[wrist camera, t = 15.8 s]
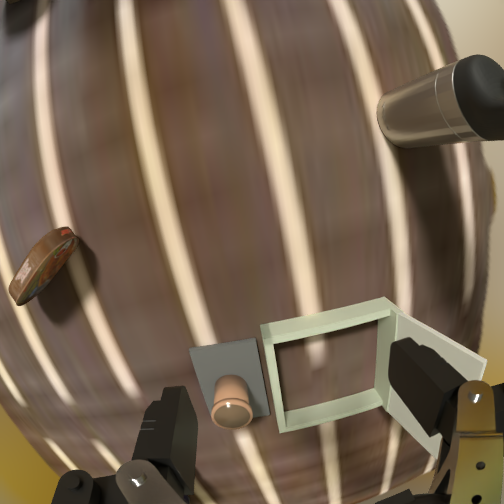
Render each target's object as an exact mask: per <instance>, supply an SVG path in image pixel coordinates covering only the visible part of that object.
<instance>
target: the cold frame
mask: <svg viewBox="0 0 504 504" xmlns="http://www.w3.org/2000/svg"><path fill="white" fill-rule="evenodd" d="M376 319H378V335H377V356H376V371H375V383H374V388H373V389H369V390H366V391H363V392H360V393H357V394H354V395H350V396H347V397H343V398H340V399H336V400H333V401H329V402H325V403H321V404H317V405H313V406H309V407H305V408H300V409H296V410H291V411H287V412H284V411H283V404H282V398H281V391H280V384H279V378H278V371H277V365H276V359H275V352H274V346H273V344H276V343H281V342H286V341H291V340H295V339H300V338H305V337H309V336H313V335H318V334H322V333H326V332H331V331H335V330H339V329H343V328H347V327H350V326H354V325H358V324H362V323H365V322H369V321H373V320H376ZM260 328H261V333H262V339H263V345H264V351H265V356H266V362H267V368H268V373H269V379H270V385H271V391H272V396H273V402H274V408H275V413H276V419H277V423H278V428H279V432H280V433H283V432H288V431H293V430H298V429H302V428H306V427H311V426H315V425H319V424H323V423H326V422H330V421H334V420H337V419H341V418H344V417H348V416H351V415H354V414H357V413H361V412H364V411H367V410H370V409H373V408H375V407H378V406H381V405H382V406H383V407H384V409H385V411H386V412H388V413H389V414H390V415H391V416H392V417H393V418H394V419H395V420H396V421H397V422H399V423H400V424H401V425H402V426H403V427H404V428H405V429H406V430H407V431H408V432H409V433H410V434H411V435H412V436H413V437H414V438H415V439H416V440H417V441H418V442H419V443H420V444H421V445H422V446H423V447H424V448H425V449H426V450H427V451H428V452H429V453H430V454H431V455H432V456H433V457H434V458H435V459H436V460H437V459H438V453H439V447H440V441H441V438H442V435H441V434H440V433H438V434H436V435H434V436H432V437H430V438H429V436H428V435H427V434H426V432H425V431H424V429H423V428H422V427H421V425H420V424H419V423H418V421H417V420H416V419H415V417H414V416H413V414H412V413H411V412H410V410H409V409H408V408H407V406H406V405H405V404H404V402H403V401H402V400H401V398H400V397H399V396H398V394H397V393H396V392H395V390H394V389H393V388H392V386H391V385H390V382H389V379H388V367H389V356H390V346H391V343H392V342H395V341H398V340H400V339H403V338H406V337H411V338H412V339H413V340H414V341H415V342H416V343H417V344H418V345H419V346H420V345H425V346H427V347H430V348H432V349H434V350H435V351H436V352H437V353H438V354H439V355H440V356H441V357H443V358H444V359H445V360H446V362H447V363H449V364H450V365H451V366H452V367H454V368H455V369H456V370H457V371H458V372H459V373H460V374H461V375H462V376H463V377H464V378H465V379H466V380H468V381H471V380H480V381H481V380H482V377H483V374H484V370H485V367H486V364H487V360H486V359H485V358H483V357H481V356H479V355H478V354H476V353H474V352H473V351H471V350H469V349H467V348H466V347H464V346H462V345H460V344H459V343H457V342H455V341H453V340H451V339H450V338H448V337H446V336H444V335H443V334H441V333H439V332H437V331H436V330H434V329H432V328H430V327H428V326H427V325H425V324H423V323H421V322H419V321H418V320H416V319H414V318H412V317H411V316H409V315H407V314H405V313H404V312H403V311H402V310H401V309H399V308H398V307H397V306H396V305H394V304H393V303H392V302H391V301H389V300H388V299H387V298H386V297H382V298H378V299H374V300H370V301H366V302H362V303H358V304H354V305H350V306H346V307H342V308H338V309H333V310H329V311H325V312H320V313H316V314H311V315H307V316H302V317H297V318H292V319H287V320H282V321H277V322H272V323H267V324H262V325H260Z"/></svg>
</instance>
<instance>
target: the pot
mask: <svg viewBox="0 0 504 504" xmlns="http://www.w3.org/2000/svg"><path fill="white" fill-rule="evenodd" d="M211 417H212V420H213V422H214V423H215V424H216V425H217V426H219V427H221V428H224V429H231V430H234V429H240V428H243V427H245V426H247V425H248V424H249V423H250V422H251V420H252V418H253V413H252V408H251V406H250V405H249V397H248V388H247V383H246V381H245V380H244V379H243V378H242V377H240V376H237V375H225V376H222V377H220V378H219V379H218V380H217V381H216V383H215V387H214V405H213V407H212V412H211Z"/></svg>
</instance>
